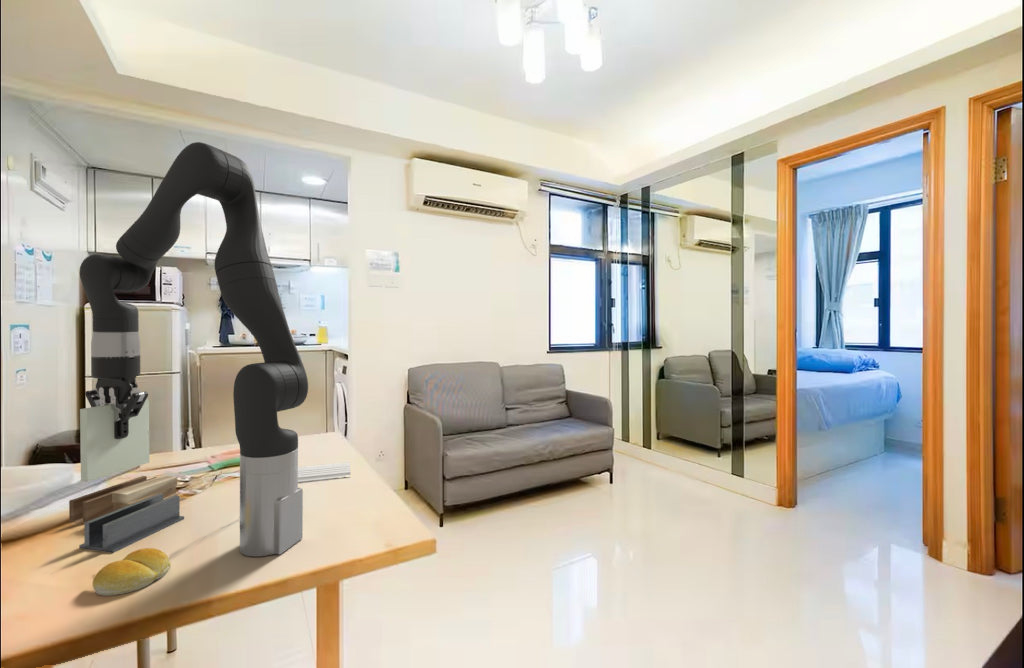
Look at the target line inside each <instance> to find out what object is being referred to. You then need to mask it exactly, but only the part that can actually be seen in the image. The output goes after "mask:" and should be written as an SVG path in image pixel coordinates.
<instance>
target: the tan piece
mask: <svg viewBox="0 0 1024 668" xmlns="http://www.w3.org/2000/svg"><path fill="white" fill-rule="evenodd" d="M156 477H157V478H154V479H151V478H150V479H151V480H148V479H147V480H148V481H145V482H142V483H139V484H136V485H133V486H131V487H128V488H125V489H122V490H119V491H116V492H113V493H112V502H113V511H116V510H118V509H121V508H123V507H126V506H129V505H131V504H134V503H136V502H139V501H141V500H144V499H146V498H149V497H152V496H154V495H157V494H163V500H165V499H167V498H170V497H172V496H175V495H178V493H177V485H178V477H177V476H175V475H174V476H172V475H165V474H164V475H160V476H156Z"/></svg>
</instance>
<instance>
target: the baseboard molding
mask: <svg viewBox="0 0 1024 668" xmlns="http://www.w3.org/2000/svg"><path fill="white" fill-rule="evenodd" d="M350 463H351V462H350V461H348V462H337V463H326V464H318V465H317V464H315V465H306V466H298V484H302V483H310V482H311V483H312V482H319V481H329V480H328V479H331V480H335V479H334V478H339V477H342V476H343V477H345V476H346V475H351V464H350ZM220 474H221V476H226V477H227V476H228V477H237V478H240V472H231V473H222V470H221V471H220ZM220 474H218V475H217V474H216V475H215V477H214V480H213V482H215V480H216V479H217V478H218V477H220ZM212 485H213V483H210V486H212Z"/></svg>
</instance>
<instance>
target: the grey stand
mask: <svg viewBox="0 0 1024 668" xmlns="http://www.w3.org/2000/svg"><path fill="white" fill-rule="evenodd" d="M180 498H181V497H180V495H178V494H177V495H175V496H172V497H170V498H167V499H165V500H163V494H157V495H154V496H152V497H149V498H146V499H144V500H141V501H139V502H136V503H134V504H131V505H129V506H126V507H123V508H121V509H118V510H116V511H113V512H111V513H108V514H105V515H103V516H100V517H98V518H95V519H93V520H90V521H87V522H85V523H83V524H84V525H83V526H84V527H83V528H84V535H83V536H84V542H83V543H82V544H79V546H78V547H79V549H81V550H88V551H95V552H103V553H108V554H109V553H111V554H114V553H117V552H118V551H120V550H122V549H125V548H127V547H129V546H131V545H133V544H136V543H138V542H139V541H141V540H143V539H146V538H148V537H150V536H152V535H154V534H156V533H158V532H160V531H163V530H164V529H166V528H168V527H169V528H170V527H171V526H173V525H175V524H177V523H180V522H181V521H184V520H185V516H184V515H183V516H182V515H180V511H181V510H180V507H181V506H180V505H181V503H180V502H181V501H180Z"/></svg>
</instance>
